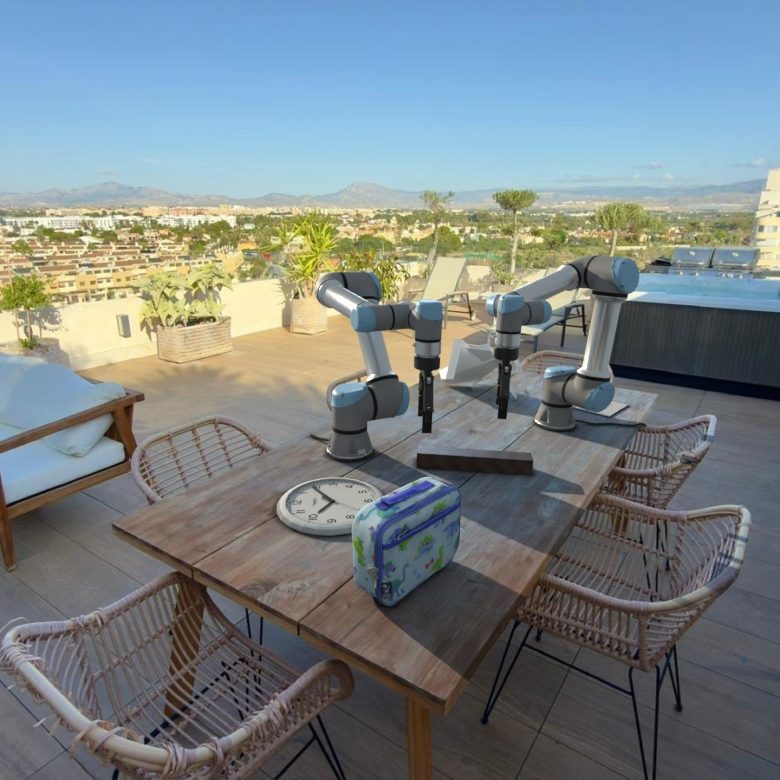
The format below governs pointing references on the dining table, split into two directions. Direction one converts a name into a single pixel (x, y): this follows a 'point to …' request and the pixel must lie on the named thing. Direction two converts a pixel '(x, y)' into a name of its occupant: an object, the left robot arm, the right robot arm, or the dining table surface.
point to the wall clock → (325, 505)
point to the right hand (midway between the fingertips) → (500, 411)
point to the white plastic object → (475, 365)
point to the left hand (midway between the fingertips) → (424, 424)
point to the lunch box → (405, 538)
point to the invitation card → (609, 409)
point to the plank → (474, 460)
